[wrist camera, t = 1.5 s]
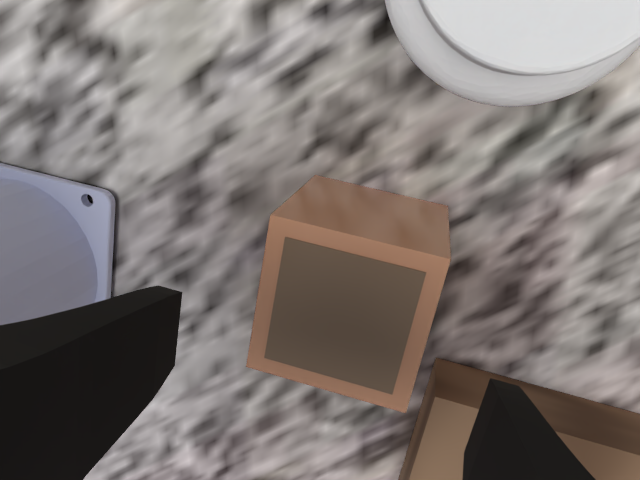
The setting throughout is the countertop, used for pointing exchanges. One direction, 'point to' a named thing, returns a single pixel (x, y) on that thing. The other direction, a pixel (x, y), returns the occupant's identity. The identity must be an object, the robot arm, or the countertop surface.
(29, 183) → the robot arm
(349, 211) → the terracotta pot
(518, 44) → the supplement bottle
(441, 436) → the walnut block
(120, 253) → the countertop surface
